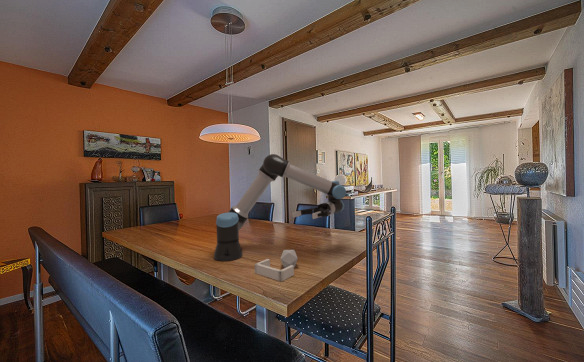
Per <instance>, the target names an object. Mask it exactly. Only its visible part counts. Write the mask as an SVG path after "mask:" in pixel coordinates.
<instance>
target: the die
mask: <svg viewBox="0 0 584 362" xmlns="http://www.w3.org/2000/svg"><path fill="white" fill-rule="evenodd" d="M279 259H280V262H281V264H282V267H283V269H284V268H286V267H288V266H290V265H293V266H294V269H295V268H296V265H297V262H298V256H297V253H296V251H295V249H283V252H282V253H281V256H280V258H279Z"/></svg>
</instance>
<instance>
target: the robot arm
mask: <svg viewBox="0 0 584 362" xmlns="http://www.w3.org/2000/svg"><path fill="white" fill-rule="evenodd" d="M278 177H281V178H288V179H290V180H292V181H295V182H297V183H299V184H301V185H304V186H306V187H309V188H311V189H312V190H313V189H314V190H316V191H317V192H321V193H323V194H325V195H327V199H328V200H327V202H324V203H323V202H322V203H320V204H318V205H317V207H313V208H312V207H311V208H305V209H303V208H302V209H297V210H296V211H294V212H291V217H292V219H293V218H297V217H301V216H304V215H312V220H315V219H318V218H322V217H323V218H325V217H326V218H327V217H329V216H331V215H334V214H338V213H340V212H343V210H344V209H345V203H344V202H343V200H342V199H344V198H345V197H346V195H347V190H346V189H347V188H345V186H343V185H342V184H340V181H339V180H329V179H326V178H324V177H322V176H319V175H317V174H315V173H313V172H310V171H307V170H305V169H303V168H301V167H298V166H296V165H293V164H291V162H290V161H289V160H287V159H284V158H283V157H281V156H280V155H278V154H275V153H274V154H273V153H271V154H268V155H267V156H266V157H265V158H264V159H263V162H262V164H261V166H260V168H259V169H258V174H257V176H256V177H255V179H254V180H253V182H252V183H251V184H250V186H249V187H248V188H247V189H246V191H245V193H244V195H242V196H241V198H240V200H239V201H238V202H237V204H236V205H233V206H232V207H230V209H229V211H228V212H223V213H220V214H218V215H217V216H216V221H215V224H216V247H215V248H214V252H213V258H214V259H213V260H215V261H221V262H229V261H234V260H237V259H240V258H242V257H243V250H242V247H241V243H240V238H239V237H240V235H239V233H240V232H239V231H240V230H241V229H242V227H243V226H244V225H245V223H246V222H247V220H248V219H249V213H250V212H251V210H252V209H253V207H255V205H256V203H257V202H258V201H259V199H260V198H261V196H262V195H263V194H264V193H265V191H266V189H267V188H268V186H269V185H270V183H271V182H276V180H277V179H278Z"/></svg>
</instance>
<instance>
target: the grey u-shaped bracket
mask: <svg viewBox="0 0 584 362" xmlns="http://www.w3.org/2000/svg"><path fill="white" fill-rule="evenodd" d="M253 265H254V274H257V275H259V276H263V277H266V278H270V279H273V280H276V281H278V282H283V281H285V280H287V279H289V278H291V277H293V276H294V275H295V268H294V266H293V265H290V266H288V267H286V268H284V267H283V268H282V269H278V268H275V267H271V260H270V259H269V258H266V259H264V260H262V261H259V262H256V263H254V264H253Z"/></svg>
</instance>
